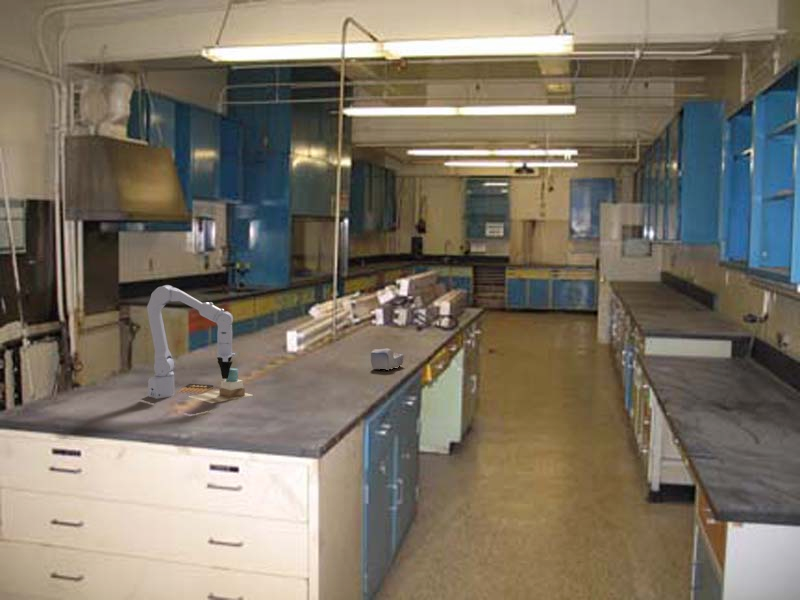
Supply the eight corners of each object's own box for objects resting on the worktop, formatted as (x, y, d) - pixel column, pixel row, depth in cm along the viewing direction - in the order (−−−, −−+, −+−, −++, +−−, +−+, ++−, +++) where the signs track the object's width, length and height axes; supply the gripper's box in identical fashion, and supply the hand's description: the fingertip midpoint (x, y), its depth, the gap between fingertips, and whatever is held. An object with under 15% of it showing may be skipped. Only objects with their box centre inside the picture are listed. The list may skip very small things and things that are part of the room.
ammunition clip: (213, 385, 314) (200, 392, 303) (213, 389, 315) (200, 396, 303) (189, 383, 316) (175, 390, 305) (189, 387, 317) (175, 395, 305)
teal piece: (231, 382, 298) (231, 370, 298) (223, 380, 301) (224, 369, 301) (240, 380, 301) (240, 369, 301) (233, 378, 304) (233, 367, 304)
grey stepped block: (368, 348, 363) (381, 343, 382) (367, 370, 364) (380, 364, 383) (394, 350, 360) (405, 345, 379) (393, 372, 360) (405, 366, 379)
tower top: (230, 390, 297) (230, 382, 297) (221, 387, 301) (221, 380, 301) (242, 388, 302) (242, 380, 302) (233, 385, 306) (233, 378, 305)
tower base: (230, 398, 297) (230, 390, 297) (219, 395, 301) (219, 387, 301) (244, 395, 302) (244, 388, 302) (233, 392, 307) (233, 385, 306)
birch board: (212, 405, 288) (212, 403, 288) (187, 398, 298) (187, 396, 298) (253, 397, 303) (253, 395, 303) (229, 390, 314) (229, 388, 313)
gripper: (236, 345, 293) (235, 379, 294) (234, 339, 307) (234, 372, 308) (217, 345, 291) (217, 380, 293) (216, 340, 305) (216, 373, 307)
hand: (224, 376), depth 300 cm, fingers open, 7 cm apart
